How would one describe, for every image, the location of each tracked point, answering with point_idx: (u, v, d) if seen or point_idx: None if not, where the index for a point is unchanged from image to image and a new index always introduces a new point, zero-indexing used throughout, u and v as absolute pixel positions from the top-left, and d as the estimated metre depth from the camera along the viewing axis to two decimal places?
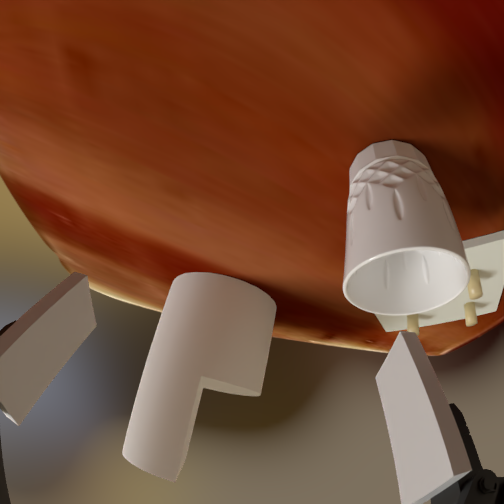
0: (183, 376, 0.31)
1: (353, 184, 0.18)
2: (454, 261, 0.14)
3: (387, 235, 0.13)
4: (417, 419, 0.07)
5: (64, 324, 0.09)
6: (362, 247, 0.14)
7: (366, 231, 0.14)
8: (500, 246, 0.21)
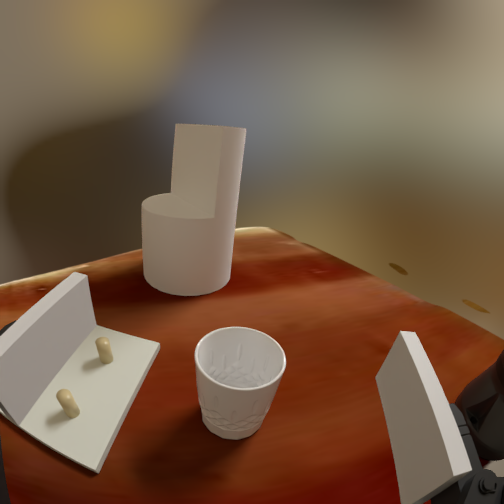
0: (224, 211, 0.45)
1: None
2: None
3: None
4: (417, 419, 0.07)
5: (64, 324, 0.09)
6: None
7: None
8: (90, 451, 0.18)
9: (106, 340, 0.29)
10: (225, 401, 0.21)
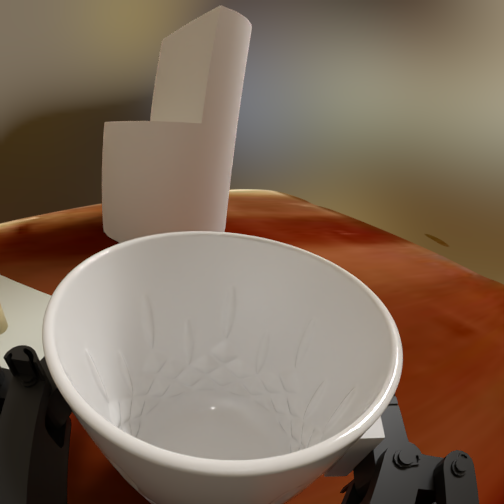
0: (217, 118, 0.28)
1: None
2: None
3: None
4: None
5: None
6: None
7: None
8: None
9: None
10: (151, 487, 0.03)
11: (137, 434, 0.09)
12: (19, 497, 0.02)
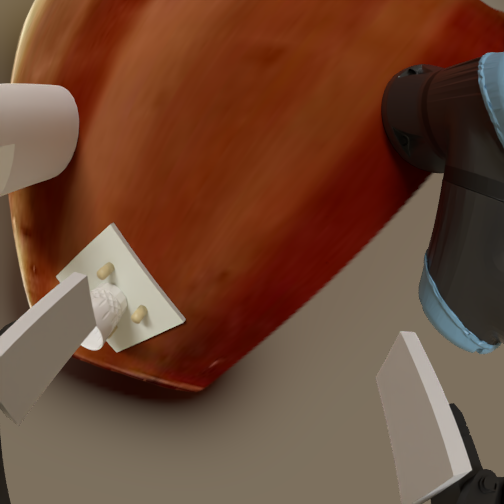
0: (11, 128, 0.22)
1: (103, 290, 0.42)
2: (97, 341, 0.40)
3: (96, 318, 0.37)
4: (417, 419, 0.07)
5: (64, 324, 0.09)
6: None
7: (93, 309, 0.37)
8: (172, 317, 0.46)
9: (100, 272, 0.41)
10: None
11: None
12: None
